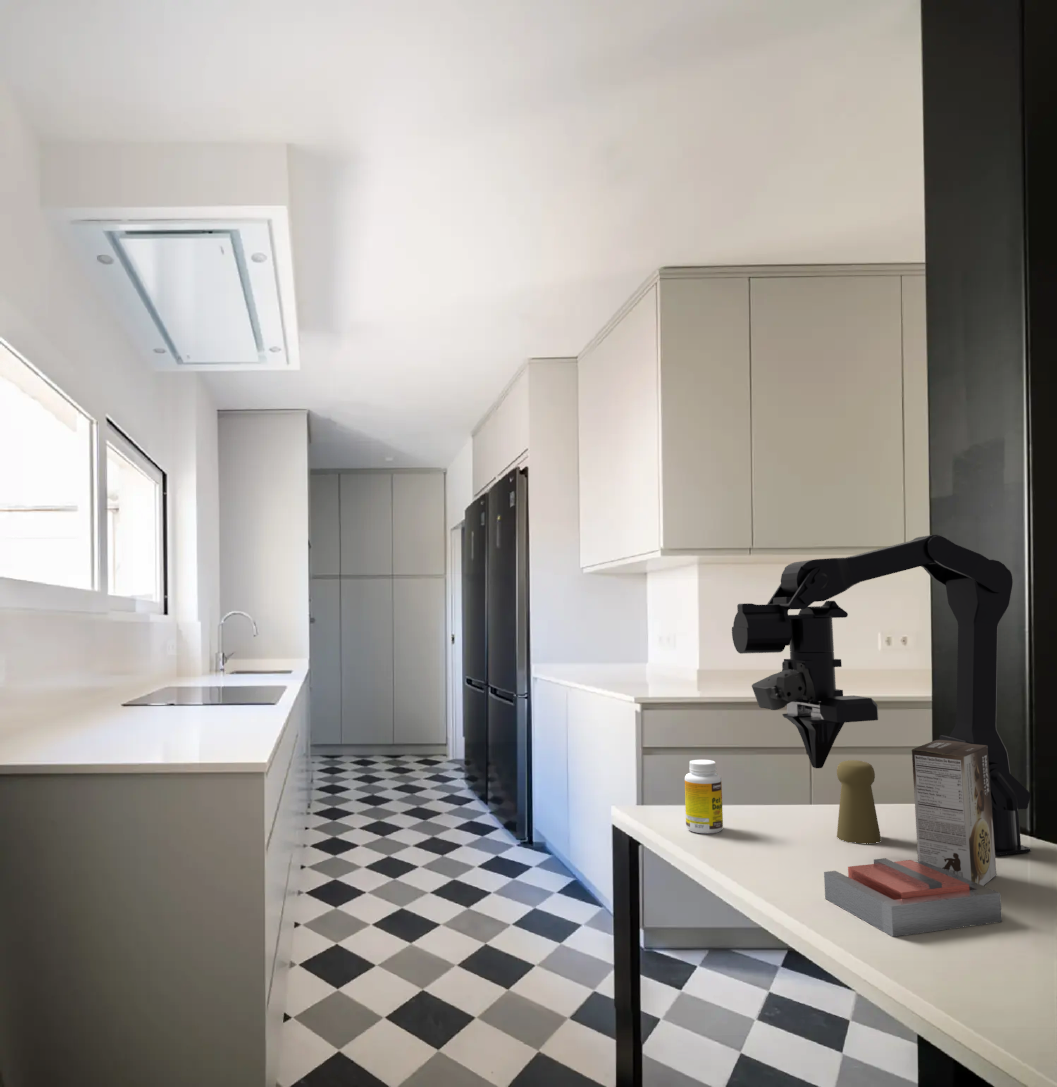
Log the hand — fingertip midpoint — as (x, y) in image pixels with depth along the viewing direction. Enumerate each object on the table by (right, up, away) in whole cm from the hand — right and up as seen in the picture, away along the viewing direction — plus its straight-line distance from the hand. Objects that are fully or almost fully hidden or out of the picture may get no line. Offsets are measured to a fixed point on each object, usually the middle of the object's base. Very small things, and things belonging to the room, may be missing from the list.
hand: (817, 767), depth 110 cm
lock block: (+3, -11, -20) cm, 23 cm away
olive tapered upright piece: (+9, -13, +8) cm, 17 cm away
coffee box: (+14, -11, -10) cm, 20 cm away
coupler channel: (+3, -10, -19) cm, 22 cm away
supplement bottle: (-12, -14, +14) cm, 23 cm away
